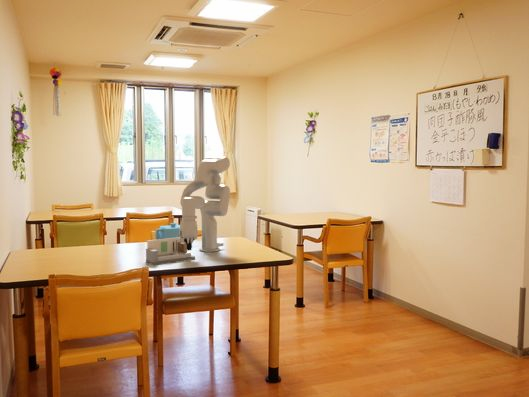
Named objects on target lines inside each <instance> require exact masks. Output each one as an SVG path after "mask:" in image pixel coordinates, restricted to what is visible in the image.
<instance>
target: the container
mask: <svg viewBox="0 0 529 397" xmlns="http://www.w3.org/2000/svg"><path fill="white" fill-rule="evenodd" d="M179 229H180V224H177V223H176V222H170V223H169V225H160V226H159V228H156V229H155V234H154V235H155V239H154V240H158V239H168V238H177V237H179Z"/></svg>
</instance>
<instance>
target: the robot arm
mask: <svg viewBox="0 0 529 397" xmlns="http://www.w3.org/2000/svg"><path fill="white" fill-rule="evenodd" d="M230 165H231V161H230V159H229V157H227V156H206V157H205V158H204V159H203V160H201V161H200V162H199V164H198V167H197V170H196V174H195V177H194V179H193V180H192V181H191V182H190V183H188V184H187V185H186V186H185V188H183V191H182V195H181V197H180V202H179V204H180V206H181V221H180V223H179V225H180V229H179V237H180V240H181V241H184V242H185V243H186V244H187V251H191V250H192V246H193V242H194V241H195V240H197V239H198V233H199V231H198V224H197V220H196V219H198V215H196V210H199V211H200V214H201V247H200V248H199V251H200V252H205V253H212V252H218V251H220V247H223V246H224V245H225V244H224V242H221V243H220V242H218V222H217V220H216V218H215V217H224V216H226V215H227V213H228V210H229V204H230V198H231V189H230V187H229V185H227V184H221V181H222V177H221V175H220V174H222V173H223V172H225V171H227V170H228V169H229V168H230ZM203 188H205V195H204V196H205V197H206V199H209V200H205V199H204V197H202V196H198V195H197V196H196V195H192V194H193V193H194V192H196V191H198V190H201V189H203ZM183 238H184V239H183Z"/></svg>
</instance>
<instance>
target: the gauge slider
mask: <svg viewBox="0 0 529 397" xmlns="http://www.w3.org/2000/svg"><path fill="white" fill-rule="evenodd" d="M178 251H179V252H177V251H174V242H173V252H172V253H170V256H171V255H178V254H183V253H188V250H187V244H185V243H182V242H178Z"/></svg>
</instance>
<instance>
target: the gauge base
mask: <svg viewBox="0 0 529 397" xmlns="http://www.w3.org/2000/svg"><path fill="white" fill-rule="evenodd" d="M183 239H184V238H183ZM173 242H174V251H177V252H179V251H178V242H182V243H185V242H184V241H181V240H180V237H177V238H168V239H158V240H156V239H152V240H151V239H150V240H146V245H147V246H146V249H145V258H146V259H145V262H146V263H148V264H150V265H152V264H153V265H152V266H155V264H157V265H162V264H161V263H164V264H169V263H168V262H171V263H177V262H176V261H179V262H184V260H186V261H191V260H196V256H194V255H192V253H191V252H187V253H183V254H178V255H171V256H170V253H172V252H173ZM185 244H186V243H185Z"/></svg>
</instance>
